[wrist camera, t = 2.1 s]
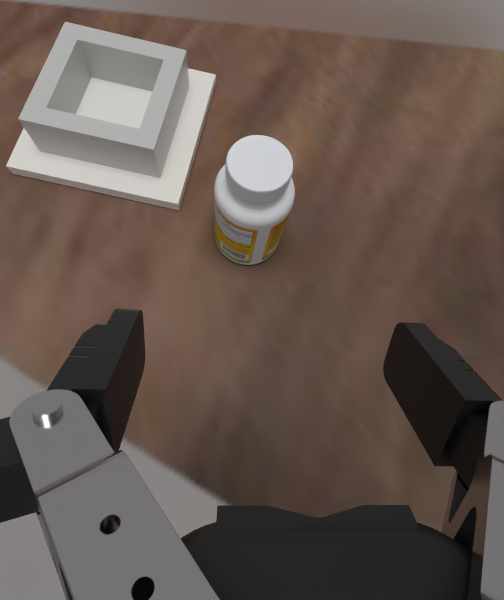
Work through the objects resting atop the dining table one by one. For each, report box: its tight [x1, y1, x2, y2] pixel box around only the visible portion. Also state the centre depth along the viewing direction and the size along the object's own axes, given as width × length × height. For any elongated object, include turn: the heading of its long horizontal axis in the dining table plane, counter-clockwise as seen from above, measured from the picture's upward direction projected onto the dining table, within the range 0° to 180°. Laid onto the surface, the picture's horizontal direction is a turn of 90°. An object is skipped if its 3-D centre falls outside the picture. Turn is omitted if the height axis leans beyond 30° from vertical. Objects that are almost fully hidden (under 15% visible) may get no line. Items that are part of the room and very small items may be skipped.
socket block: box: [6, 22, 216, 210], centre depth 31 cm, size 14×14×4 cm
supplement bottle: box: [214, 135, 295, 265], centre depth 26 cm, size 5×5×10 cm
